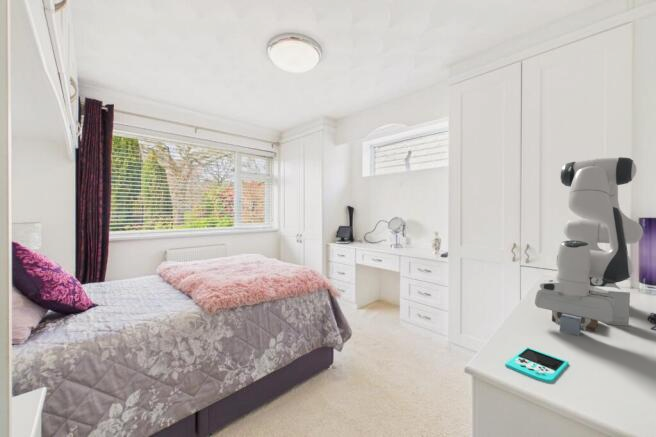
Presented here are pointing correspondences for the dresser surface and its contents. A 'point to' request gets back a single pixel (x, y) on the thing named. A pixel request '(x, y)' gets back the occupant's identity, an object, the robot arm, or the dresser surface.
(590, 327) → the walnut base
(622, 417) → the dresser surface
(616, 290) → the supplement box
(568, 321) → the slate block
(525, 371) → the handheld game console
